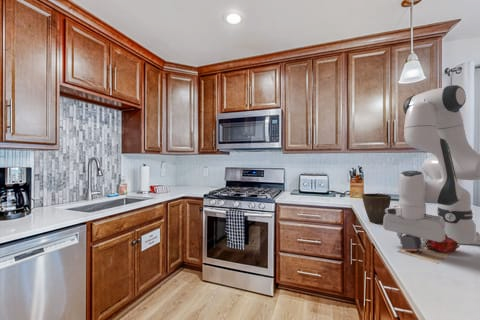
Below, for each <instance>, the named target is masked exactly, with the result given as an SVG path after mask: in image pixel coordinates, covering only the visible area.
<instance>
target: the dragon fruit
mask: <svg viewBox="0 0 480 320" xmlns="http://www.w3.org/2000/svg"><path fill="white" fill-rule="evenodd" d="M423 242H424V241H422V243H423ZM458 248H460V244H459V243H457V242H456V241H454V240H453V239H452V238H448V237H447V235H446V234H445V240H444V241H442V242H437V241H432V240H428V242H427V243H426V244H425V249H432V251H435V252H439V253H444V254H446V253H452V252H455V251H456V250H457V249H458Z"/></svg>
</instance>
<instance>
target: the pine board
mask: <svg viewBox="0 0 480 320" xmlns="http://www.w3.org/2000/svg"><path fill="white" fill-rule="evenodd" d="M396 252H397V253H401V254H404V255H408V256H410V257H414V258H417V259H420V260H424V261H428V262H431V263H435V264H440V263H441V262H443V261H444V260H445V259H446V258H448V257H449V256H450V255H449V254H446V253H444V252H442V253H440V252H438V251H435V250H430V249H428V248H425V249H424V250H422V249H419V250H417V251H408V250H403V248H402V249H399V250H396Z"/></svg>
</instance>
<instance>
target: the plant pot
mask: <svg viewBox="0 0 480 320" xmlns="http://www.w3.org/2000/svg"><path fill="white" fill-rule="evenodd" d="M361 196H362V197H361V198H362V201H363V207H364V209H365V214H366V216H367V219H368V221H369V223H372V224H377V225H378V224H379V225H383V219H384V216H385V214H387V213H385V209H387V208H389V207H391V201H392V195H389V194H385V193H384V194H383V193H364V194H362V195H361Z"/></svg>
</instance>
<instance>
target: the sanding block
mask: <svg viewBox="0 0 480 320" xmlns="http://www.w3.org/2000/svg"><path fill="white" fill-rule="evenodd" d="M400 238H401V242H402V244H401V246H402V249H403V250H408V251H417V250H419V244H420V243H421V244H422V243H423V241H422V238H419V237H415V236H410V235H406V234H403V235H402V237H400Z"/></svg>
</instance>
